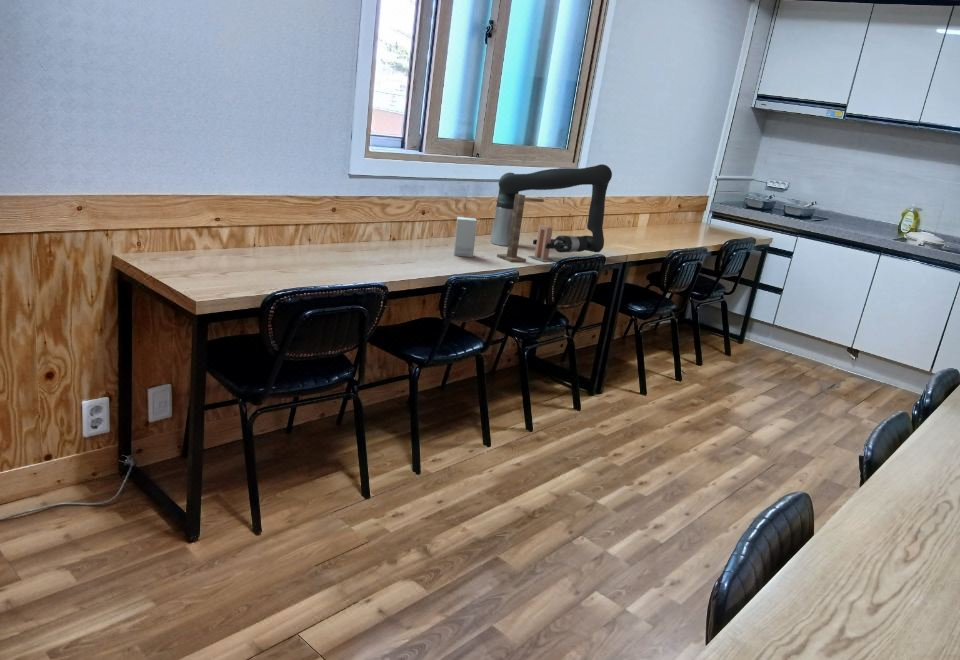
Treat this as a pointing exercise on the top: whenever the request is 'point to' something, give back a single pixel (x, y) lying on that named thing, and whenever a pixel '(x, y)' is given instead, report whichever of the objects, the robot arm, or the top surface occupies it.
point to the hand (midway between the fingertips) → (539, 244)
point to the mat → (543, 259)
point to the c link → (543, 241)
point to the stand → (516, 229)
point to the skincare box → (465, 236)
